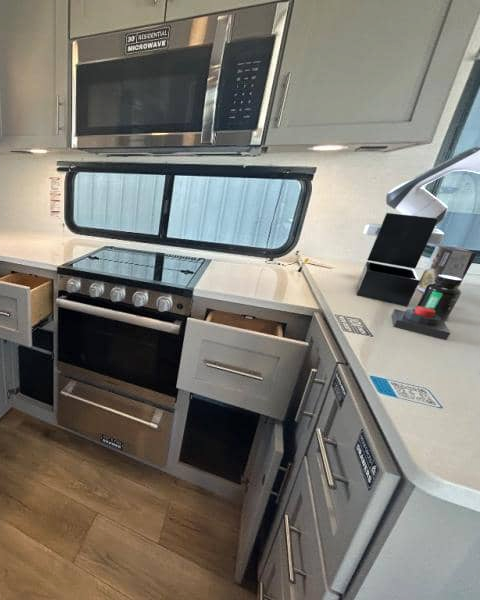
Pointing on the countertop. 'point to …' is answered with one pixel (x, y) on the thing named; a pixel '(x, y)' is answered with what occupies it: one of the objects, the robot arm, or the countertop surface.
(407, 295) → the bin
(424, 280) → the coffee box
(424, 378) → the countertop surface
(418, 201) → the robot arm
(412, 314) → the control block
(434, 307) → the supplement bottle
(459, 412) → the countertop surface
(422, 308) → the button
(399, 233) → the bin lid
